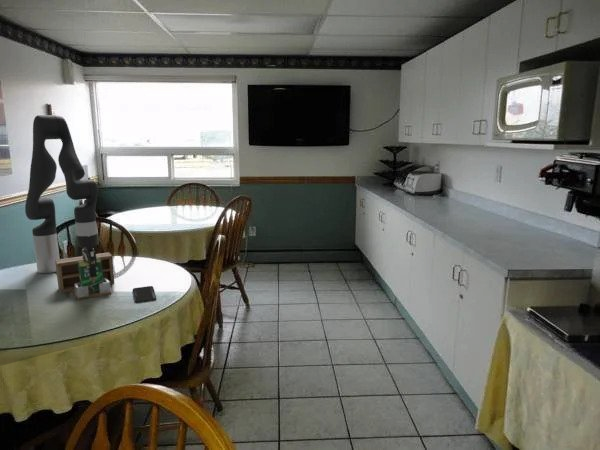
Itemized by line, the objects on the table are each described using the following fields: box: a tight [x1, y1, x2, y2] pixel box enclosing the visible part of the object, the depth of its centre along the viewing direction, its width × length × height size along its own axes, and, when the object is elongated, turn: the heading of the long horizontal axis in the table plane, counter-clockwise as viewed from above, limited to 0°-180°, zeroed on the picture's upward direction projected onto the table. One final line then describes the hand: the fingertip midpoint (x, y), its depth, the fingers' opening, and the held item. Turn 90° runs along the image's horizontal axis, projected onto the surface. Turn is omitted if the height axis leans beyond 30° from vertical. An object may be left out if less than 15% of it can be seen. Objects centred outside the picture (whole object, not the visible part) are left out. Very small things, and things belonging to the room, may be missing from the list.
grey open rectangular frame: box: [74, 278, 112, 298], centre depth 168 cm, size 6×12×4 cm, turn 126°
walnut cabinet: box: [55, 251, 115, 301], centre depth 172 cm, size 18×20×12 cm
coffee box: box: [77, 258, 104, 294], centre depth 167 cm, size 8×3×13 cm, turn 127°
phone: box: [132, 285, 157, 304], centre depth 168 cm, size 8×1×15 cm
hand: (90, 273), depth 167 cm, fingers open, 8 cm apart
